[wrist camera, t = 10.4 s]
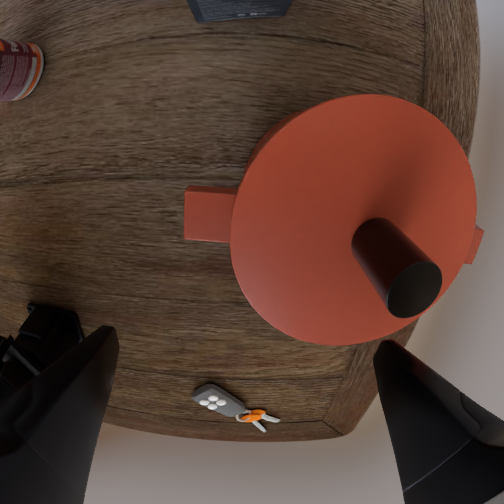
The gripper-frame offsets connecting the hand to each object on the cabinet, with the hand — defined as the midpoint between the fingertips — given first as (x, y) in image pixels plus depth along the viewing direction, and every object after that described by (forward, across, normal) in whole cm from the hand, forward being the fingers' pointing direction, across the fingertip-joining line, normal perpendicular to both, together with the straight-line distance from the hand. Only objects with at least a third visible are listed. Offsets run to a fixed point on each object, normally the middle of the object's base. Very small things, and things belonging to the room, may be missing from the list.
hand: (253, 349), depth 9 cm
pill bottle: (+13, +18, -11) cm, 25 cm away
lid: (+5, -6, -2) cm, 8 cm away
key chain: (+13, -2, +24) cm, 27 cm away
